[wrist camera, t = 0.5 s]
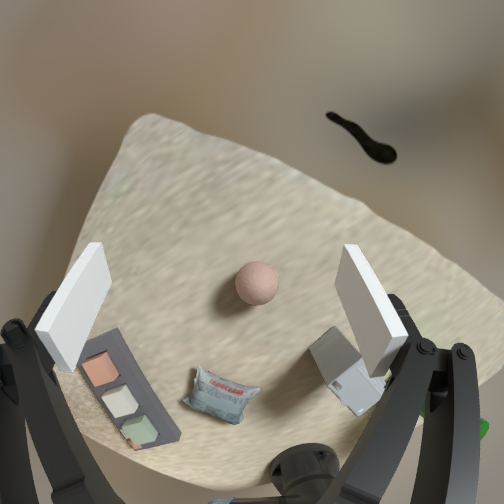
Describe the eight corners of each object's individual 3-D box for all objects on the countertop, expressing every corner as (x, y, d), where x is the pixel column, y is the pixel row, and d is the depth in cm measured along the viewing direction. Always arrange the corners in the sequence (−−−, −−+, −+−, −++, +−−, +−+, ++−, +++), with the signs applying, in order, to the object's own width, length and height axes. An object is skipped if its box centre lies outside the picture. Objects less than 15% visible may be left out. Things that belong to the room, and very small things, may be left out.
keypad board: (181, 432, 50) (178, 441, 46) (138, 443, 49) (134, 451, 46) (117, 327, 49) (110, 332, 45) (76, 345, 48) (68, 350, 45)
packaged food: (200, 359, 50) (196, 371, 45) (261, 383, 50) (263, 396, 45) (184, 396, 50) (179, 409, 45) (242, 418, 50) (242, 432, 46)
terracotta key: (121, 371, 47) (113, 380, 43) (103, 378, 47) (94, 387, 43) (109, 349, 47) (100, 356, 43) (90, 356, 47) (81, 364, 43)
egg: (283, 283, 50) (292, 291, 41) (251, 307, 50) (254, 320, 40) (259, 251, 49) (263, 253, 40) (227, 276, 49) (224, 283, 40)
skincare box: (358, 352, 51) (397, 388, 35) (330, 377, 51) (359, 421, 35) (333, 322, 50) (368, 352, 34) (302, 349, 50) (326, 389, 34)
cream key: (140, 402, 48) (134, 412, 44) (121, 408, 48) (115, 418, 44) (127, 381, 47) (120, 391, 43) (109, 388, 47) (101, 397, 43)
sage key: (159, 429, 48) (154, 441, 44) (140, 434, 48) (135, 445, 44) (146, 411, 48) (140, 422, 44) (127, 416, 48) (121, 427, 44)
